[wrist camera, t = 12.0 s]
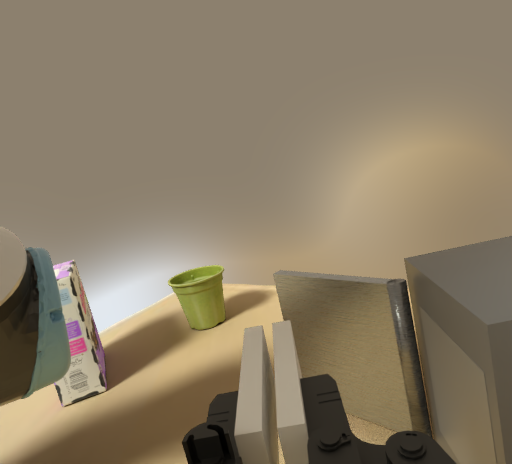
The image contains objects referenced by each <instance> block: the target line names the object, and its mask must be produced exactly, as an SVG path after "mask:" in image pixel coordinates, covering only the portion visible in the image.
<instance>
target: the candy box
mask: <svg viewBox="0 0 512 464" xmlns="http://www.w3.org/2000/svg"><path fill="white" fill-rule="evenodd" d="M53 268H54V272H55V276H56V280H57V284H58V288H59V293H60V298H61V304H62V309H63V311H62V313H63V315H64V318H65V323H66V327H67V333H68V338H69V345H70V352H71V364H70V368H69V370H68V372H67V373H66V375H65V376H64V377H63V378H62V379H60V380H59V381H57V382H55V383H54V384H55V387H56V390H57V393H58V396H59V399H60V401H61V405H62V406H65V405H68V404H71V403H74V402H77V401H79V400H82V399H84V398H87V397H90V396H93V395H96V394H99V393H101V392H104V391H106V390H107V382H106V369H105V353H104V350H103V347H102V344H101V341H100V338H99V335H98V332H97V328H96V325H95V322H94V319H93V316H92V313H91V310H90V307H89V304H88V300H87V297H86V294H85V291H84V288H83V285H82V282H81V279H80V276H79V273H78V270H77V267H76V264H75V260H72V261H68V262H64V263H61V264H57V265H53Z"/></svg>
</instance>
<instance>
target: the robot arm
mask: <svg viewBox="0 0 512 464" xmlns="http://www.w3.org/2000/svg"><path fill="white" fill-rule="evenodd" d="M62 311H63V309H62V304H61V298H60V293H59V288H58V284H57V280H56V276H55V272H54V268H53V264H52V261H51V258H50V255H49V253H48V251H47V250H45V249H43V248H31V247H30V248H27V249H25V248H24V246H23V244H22V243H21V241H20V240H19V238H18V237H17V236H16V235H15V234H14V233H12V232H11V231H10V230H8V229H6V228H4V227H1V226H0V406H3V405H5V404H8V403H10V402H13V401H16V400H18V399H24V398H27V397H29V396H30V395H31V394H33V392H35V391H37V390H39V389H42V388H44V387H46V386H48V385H51V384H53V383H55V382H57V381H59V380H60V379H62V378H63V377H64V376H65V375H66V373H67V372H68V370H69V368H70V364H71V352H70V345H69V338H68V333H67V327H66V323H65V318H64V315H63V313H62ZM272 327H273V348H274V369H275V379H274V375H273V370H272V366H271V362H270V357H269V353H268V348H267V344H266V339H265V335H264V331H263V326H262V325H261V326H256V327H250V328H245V330H244V340H243V351H242V361H241V371H240V381H239V391H235V392H229V393H224V394H218V395H217V396H216V397H215V399H214V400H213V401H212V403H211V404H210V407H209V412H208V417H207V422H206V423H203V424H200V425H198V426H196V427H195V428H193V429H191V430H190V431H189V432H188V433H187V434H186V435H185V437H184V439H183V441H182V444H183V447H184V451H185V454H186V458H187V461H188V464H279V452H278V433H279V438H280V442H281V446H282V451H283V455H284V459H285V464H456V462H455V461H454V460H453V459H452V458H451V457H450V456H449V455H448V454H447V453H446V452H445V451H444V450H443V448H442V447H441V446H440V445H439V444H438V443H437V442H436V441H435V440H434V439H433V438H431V437H430V436H429V435H427V434H424V433H421V432H419V431H409V430H407V431H402V432H398V433H396V434H394V435H392V436H390V438H389V439H388V440H387V441H386V445H375V444H369V443H366V442H364V441H361V440H360V439H358V438H357V437H356V436H355V435H354V434H353V433H352V431H351V429H350V427H349V423H348V420H347V416H346V413H345V410H344V406H343V403H342V400H341V396H340V393H339V390H338V386H337V383H336V381H335V380H334V379H333V378H332V377H331V376H330V375H329V374H323V375H317V376H312V377H306V378H302V374H301V369H300V365H299V360H298V355H297V350H296V346H295V341H294V336H293V331H292V326H291V322H290V320H287V321H282V322H277V323H272ZM277 429H278V431H277Z"/></svg>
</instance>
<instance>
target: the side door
mask: <svg viewBox="0 0 512 464" xmlns="http://www.w3.org/2000/svg"><path fill="white" fill-rule="evenodd" d="M273 275H274V280H275V284H276V289H277V293H278V297H279V302H280V306H281V311H282V315H283V319H284V321H287V320H290V322H291V326H292V331H293V336H294V341H295V346H296V350H297V355H298V360H299V365H300V369H301V374H302V378H306V377H312V376H317V375H323V374H329V375H330V376H331V377H332V378H333V379H334V380H335V381H336V383H337V386H338V390H339V393H340V396H341V400H342V403H343V406H344V410H345V413H348V414H351V415H353V416H356V417H359V418H362V419H364V420H367V421H370V422H372V423H375V424H378V425H380V426H383V427H386V428H388V429H391V430H394V431H396V432H402V431H407V430H409V431H419V432H421V433H424V434H427V435H429V436H430V437H431V438H432V433H431V427H430V421H429V415H428V409H427V403H426V397H425V391H424V385H423V379H422V373H421V367H420V361H419V355H418V349H417V343H416V337H415V331H414V326H413V320H412V314H411V308H410V302H409V296H408V290H407V284H406V280H404V279H382V278H370V277H358V276H357V277H356V276H344V275H332V274H320V273H308V272H295V271H294V272H293V271H283V270H280V271H278V272H276V273H274V274H273Z"/></svg>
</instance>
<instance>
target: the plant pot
mask: <svg viewBox="0 0 512 464" xmlns="http://www.w3.org/2000/svg"><path fill="white" fill-rule="evenodd" d="M223 271H224V268H223V267H222V266H218V265H212V266H205V267H199V268H195V269H191V270H188V271H185V272H183V273H181V274H178V275H176V276H174V277H172V278H171V279H170V280H169V281H168V285H169V286H171V287H172V289H173V291H174V292H175V293H176V295H177V297H178V299H179V301H180V304H181V306H182V308H183V310H184V313H185V315H186V317H187V320H188V322H189V324H190V327H191V328H192V329H193V328H195V329H197V330H203V329H208V328H212V327H214V326H216V325H217V324H218V323H219V322H223V321H224V320H225V318H226V316H225V307H224V297H223V288H222V279H223V277H222V272H223Z"/></svg>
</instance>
